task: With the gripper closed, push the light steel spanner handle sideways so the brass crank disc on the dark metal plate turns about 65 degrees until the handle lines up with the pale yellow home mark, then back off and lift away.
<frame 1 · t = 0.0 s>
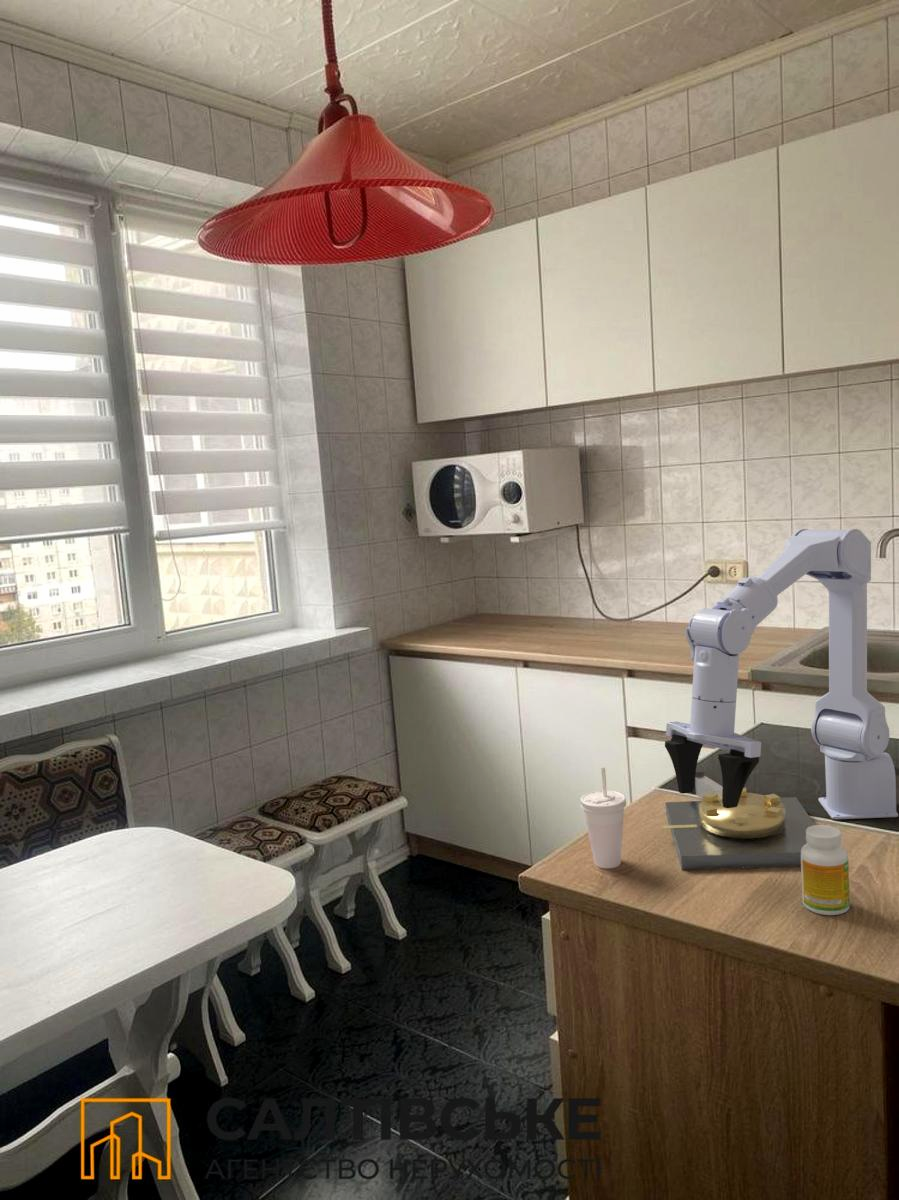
hand: (707, 799, 120), 11 cm above the table, tool pointing down, fingers open, 7 cm apart
brass crank disc: (725, 800, 136), point 4 cm above the table, hinge at 0.0°
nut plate: (742, 837, 132), on the table
supplement bottle: (826, 907, 111), on the table
smoothie: (607, 864, 128), on the table
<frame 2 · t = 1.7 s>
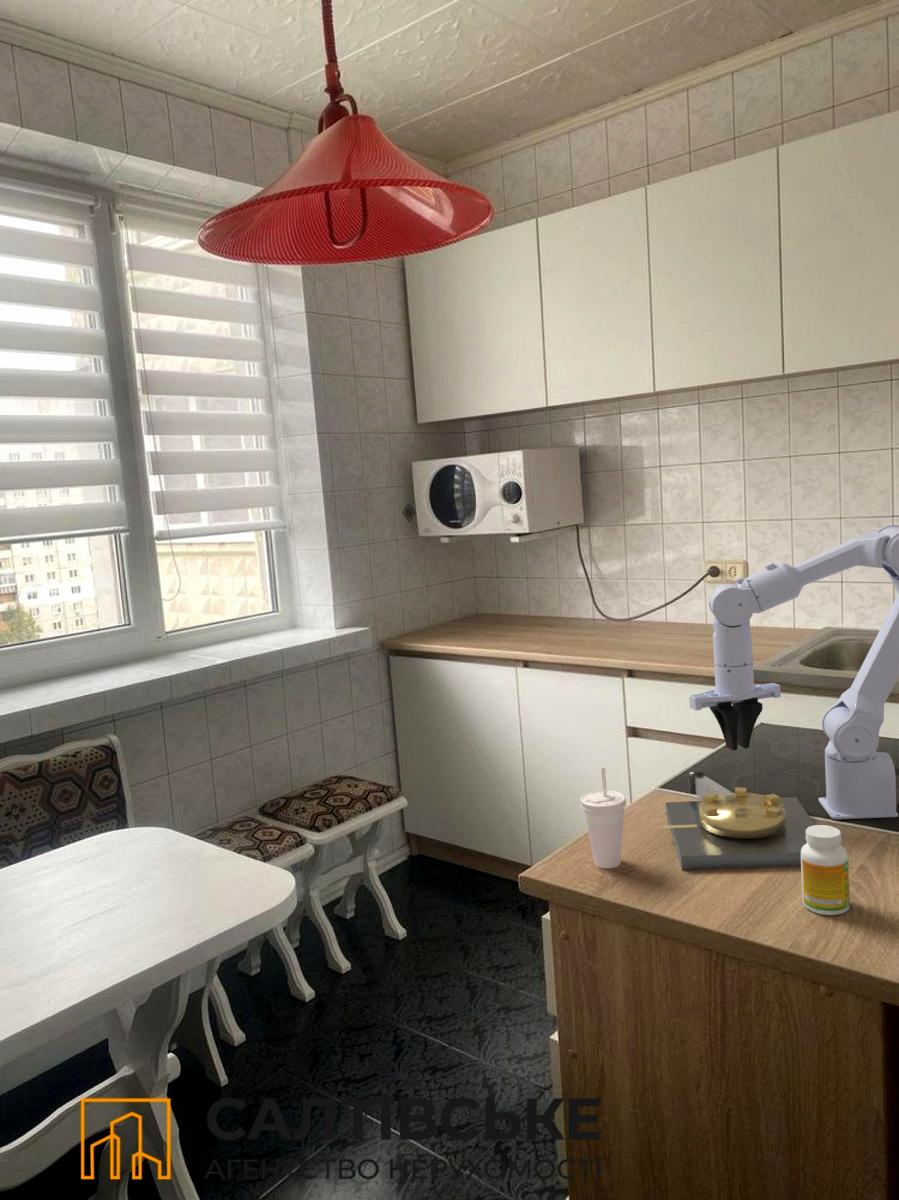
hand: (737, 747, 140), 10 cm above the table, tool pointing down, fingers closed
nothing on the table moved.
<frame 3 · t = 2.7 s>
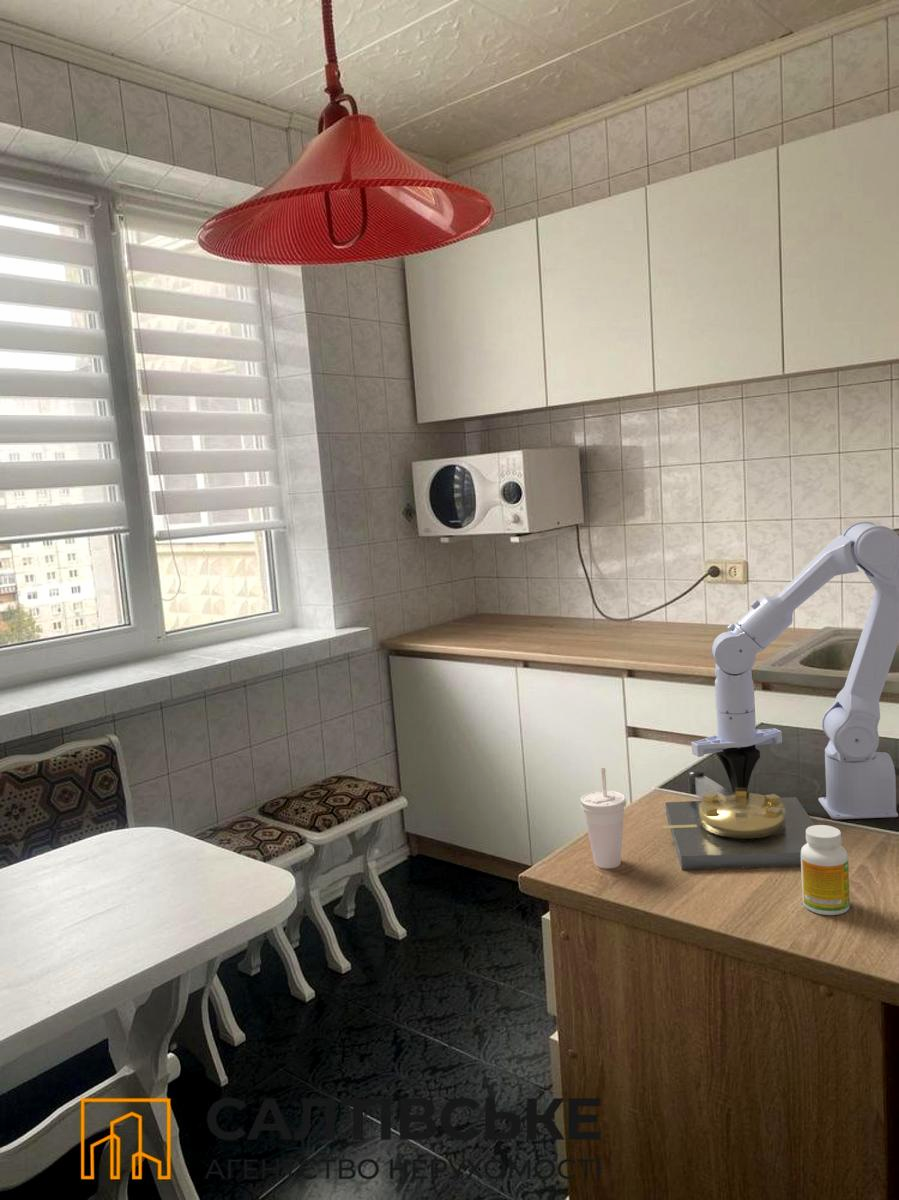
hand: (739, 792, 141), 3 cm above the table, tool pointing down, fingers closed
nothing on the table moved.
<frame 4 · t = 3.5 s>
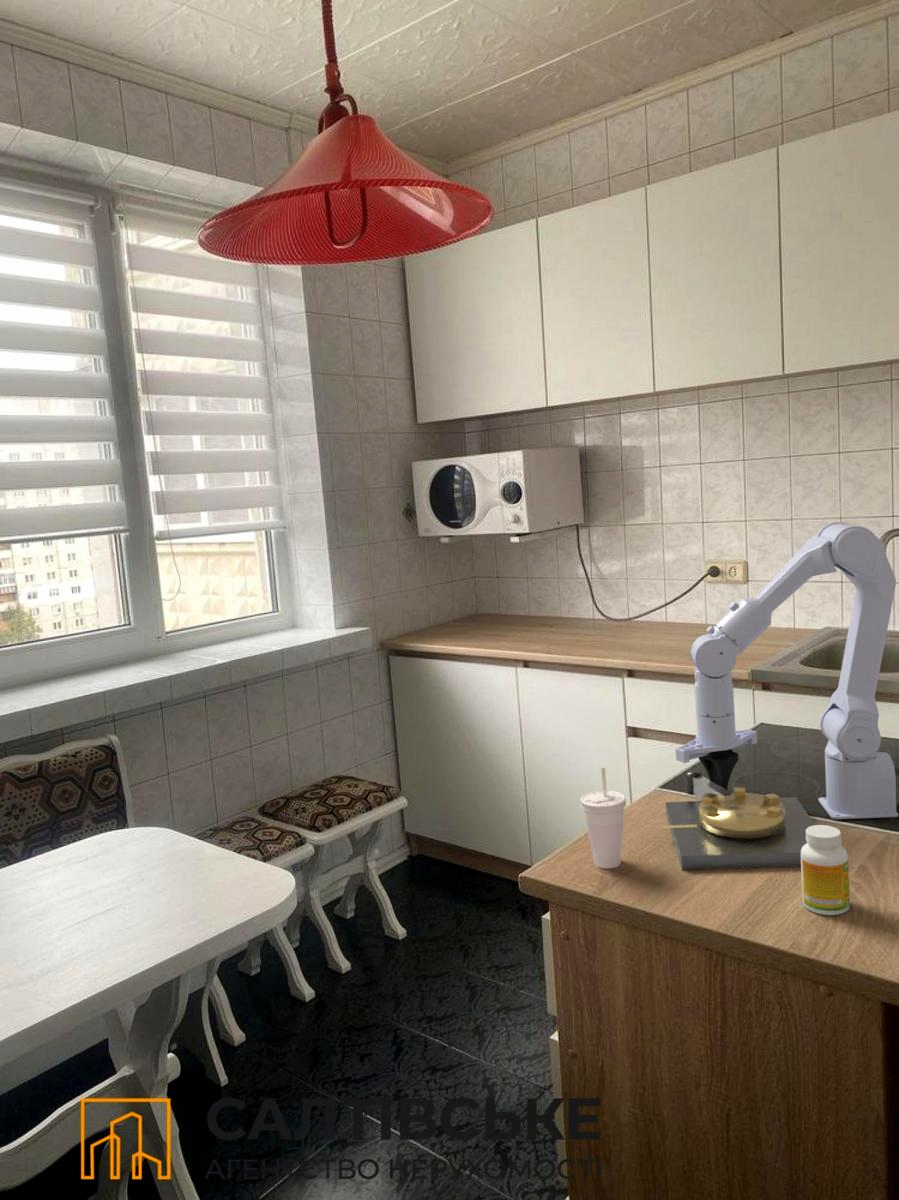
hand: (719, 796, 141), 3 cm above the table, tool pointing down, fingers closed, pressing on brass crank disc
brass crank disc: (725, 800, 136), point 4 cm above the table, hinge at 1.9°, touching gripper
everything else where it was.
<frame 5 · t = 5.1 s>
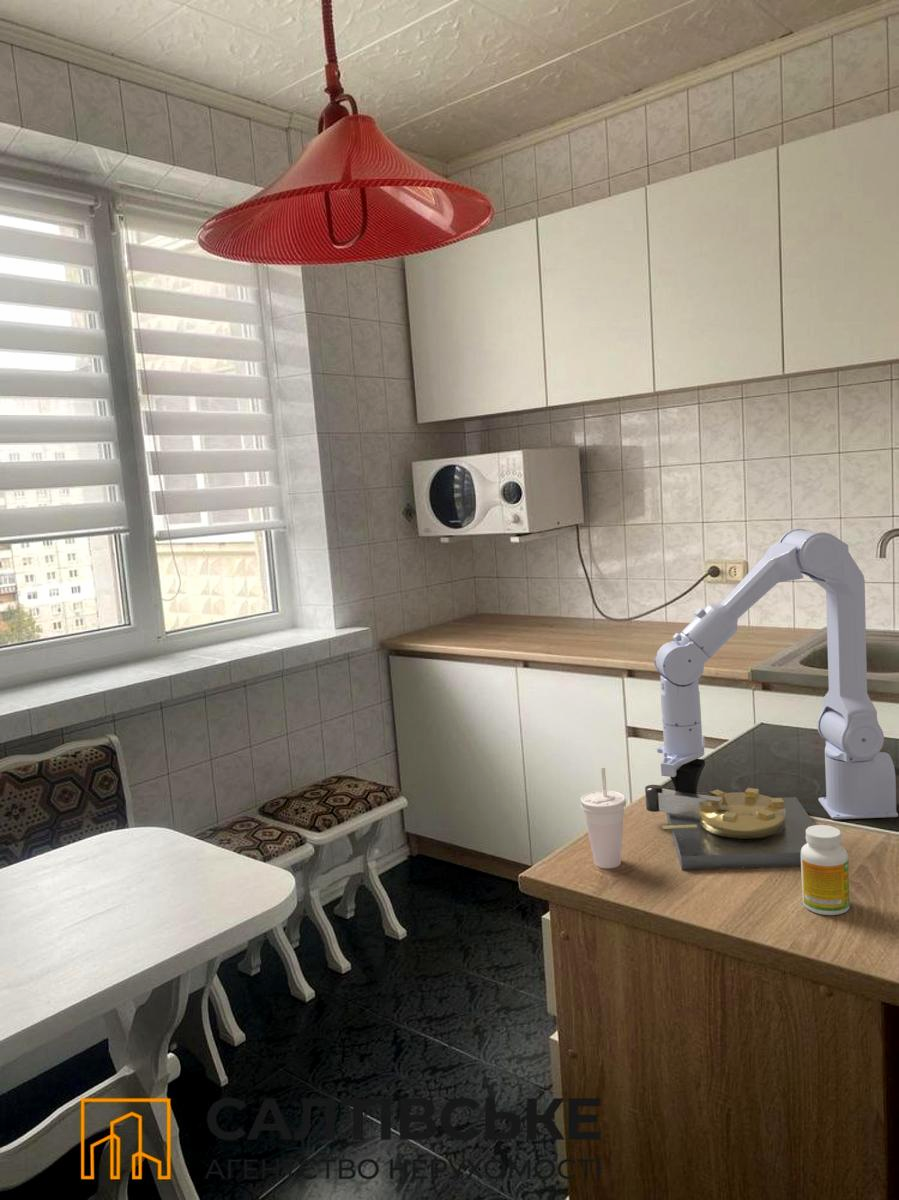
hand: (686, 806, 138), 3 cm above the table, tool pointing down, fingers closed
brass crank disc: (711, 806, 134), point 4 cm above the table, hinge at 42.2°, touching gripper
everything else where it was.
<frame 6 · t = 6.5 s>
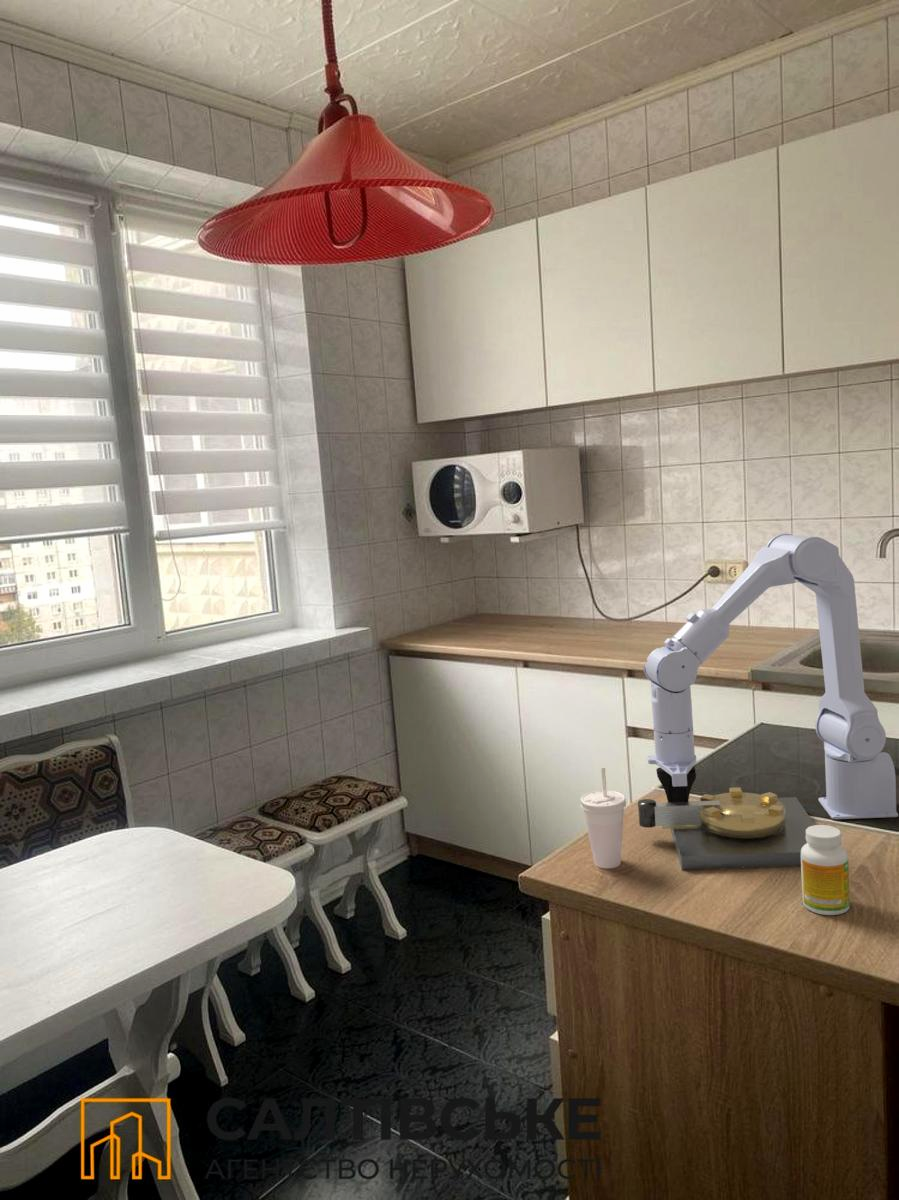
hand: (678, 815, 135), 3 cm above the table, tool pointing down, fingers closed
brass crank disc: (710, 811, 132), point 4 cm above the table, hinge at 68.5°, touching gripper
everything else where it was.
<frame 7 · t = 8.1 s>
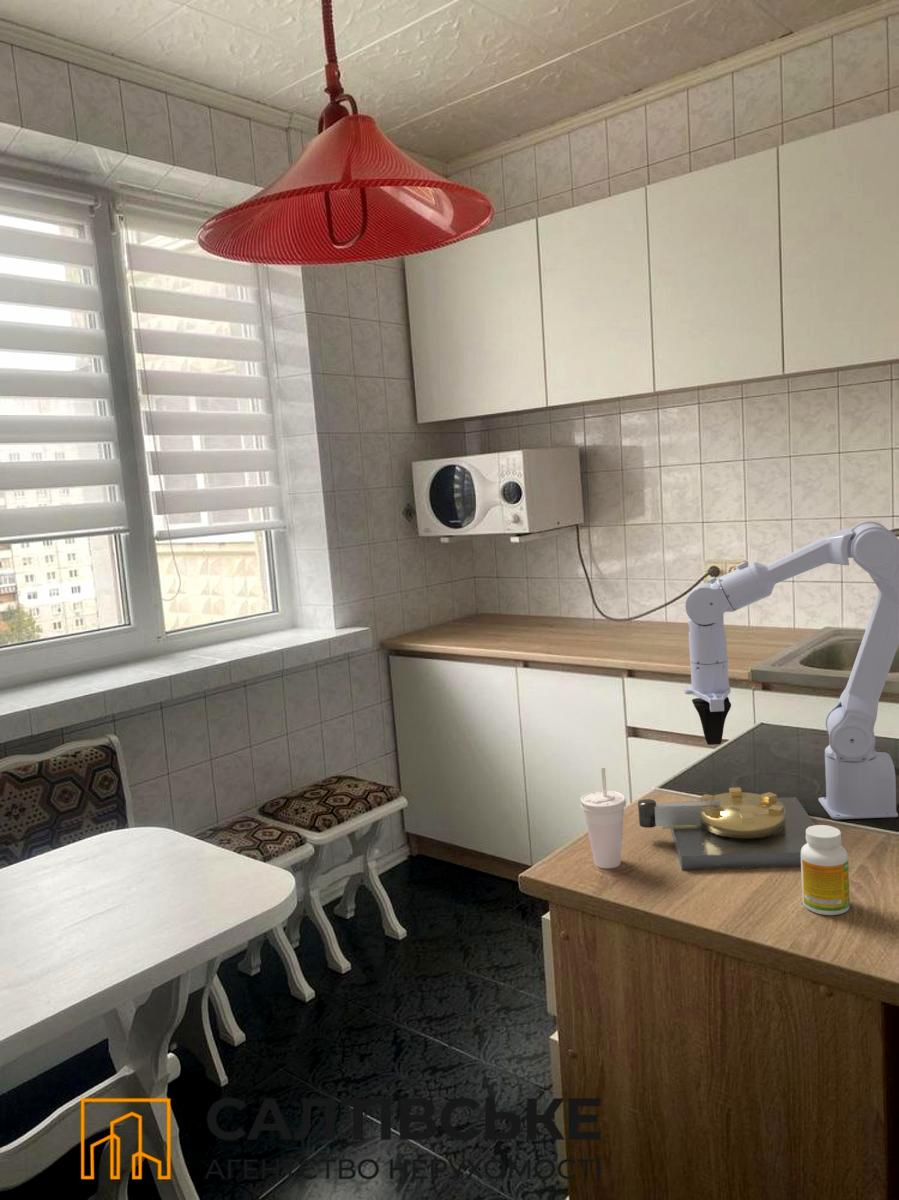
hand: (713, 743, 144), 10 cm above the table, tool pointing down, fingers closed
brass crank disc: (710, 811, 132), point 4 cm above the table, hinge at 68.7°
everything else where it was.
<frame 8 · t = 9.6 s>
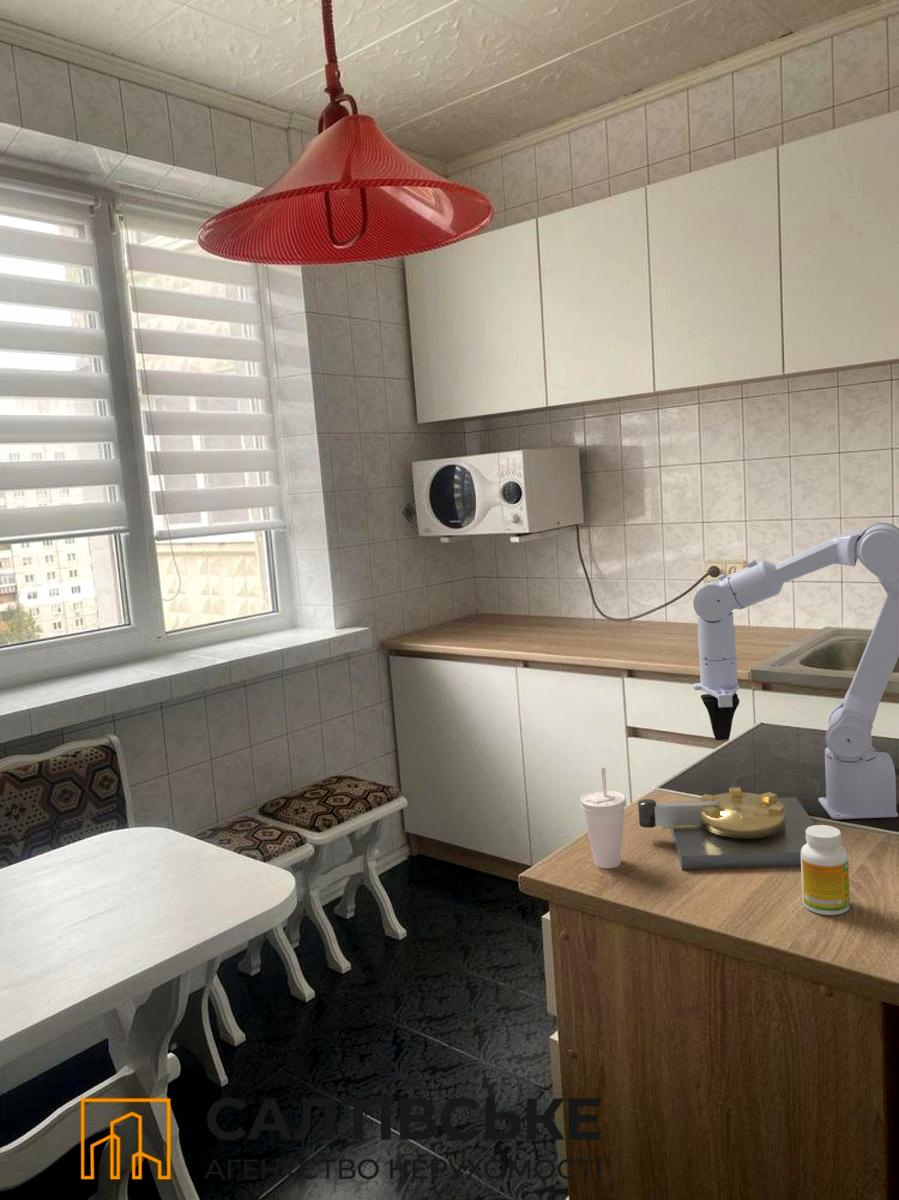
hand: (721, 738, 145), 10 cm above the table, tool pointing down, fingers closed
nothing on the table moved.
at the end: brass crank disc at +69° (first picture: +0°); smoothie moved 0.2 cm from its start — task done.
